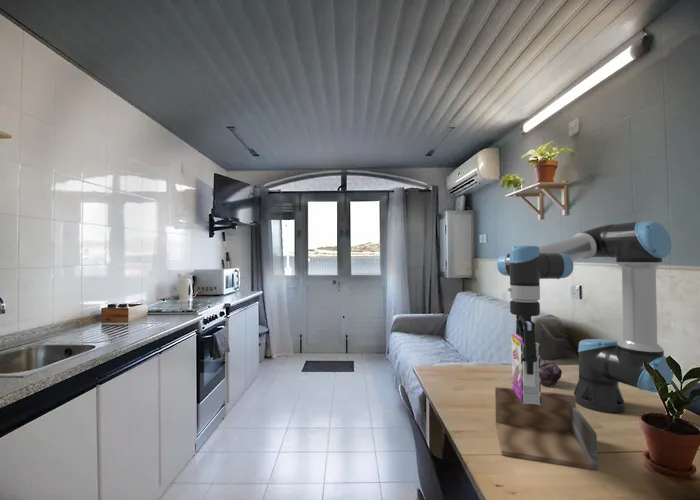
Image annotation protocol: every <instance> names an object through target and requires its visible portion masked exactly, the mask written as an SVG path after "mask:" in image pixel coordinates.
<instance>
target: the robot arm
mask: <svg viewBox="0 0 700 500" xmlns="http://www.w3.org/2000/svg"><path fill="white" fill-rule="evenodd" d="M672 243H673V242H672V239H671V235H670V232H669V231H668V230H667V228H666V227H665V226H664V225H663V224H661V223H660V222H657V221H635V222H626V223H614V224H605V225H601V226H597V227H594V228H591V229H588V230H585V231H581V232H578V233H575V234H574V235H573V236H572V237H571V238H570V237H569V238H567V239H563V240H559V241H555V242H552V243H548V244H545V245H541V246H537V245H515V246H511V247H510V250H509V252H508V253H502V254H501V255H500V256H499V257H498V259H497V261H496V267H497V271H498V272H499V273H500V274H501V275H502V276H507V277H509V282H510V283H509V287H508V288H507V292H510V293H509V295H510V296H509V297H510V299H511V300H510V301H509V302H510V303H509V312H510V314H512V315H514V316H515V318H516V322H515V324H516V325H515V326H516V327H515V328H516V329H515V334H516V335H518V336H520V337H522V342H523V343H525V347H524V358H522V359H521V361H523V382H524V386H531V387H535V362H537V356H536V343H535V341H536V331H535V330H536V329H535V327H536V324H535V322H534V321H532V317H537V316H539V315H540V314H541V303H540V302H539V301H540V300H541V286H540V285H541V284H540V283H541V282H540V280H544V279H545V280H548V279H551V280H553V279H556V280H560V279H566V278H568V277H570V276H571V274H572V273H573V271H574V261H575V260H578V259H582V260H587V259H591V258H615V259H616V261H615V264H617V265H618V266H619V267H620V268H621V281H622V282H621V283H622V284H621V287H622V291H621V292H622V293H621V294H622V297H621V298H622V338H623V339H621V340H620V341H619V342H618V341H617V340H613V339H606V338H605V339H604V338H603V339H602V338H591V339H590V338H589V339H588V338H587V339H581V340H580V341H579V343H578V349H577V352H578V381H577V384H576V387H575V389H574V391H573V395H575V396H576V404H578V405H580V406H582V407H584V408H587V409H590V410H594V411H596V412H603V413H611V414H612V413H614V414H615V413H617V414H618V413H622V412H624V411H625V410H626V402H625V400H624V397H623V394H622V392H621V389H620V387H619V383H621V384H625V385H628V386H630V387H634V388H637V389H639V390H641V391H647V392H651V393H658V392H657V390H656V388H655V385H654V383H653V381H652V379H651V377H650V375H649V374H648V372H647V371H646V369H645V367H644V365H643V361H645V362H646V363H647V364H649V365H650V366H651V367H652V368H654V369H656V370H658V371H659V373H660V374H661V375H662V376H663V377H664V379H665V380H666V382H667V383H670V381H671V382H672V380H673V378H674V374H673V372H672V371H671V369H670V367H669V366H668V365H667V363H666V358H668V357H667V356H665V355H664V354H665V350H664V348H663V347H662V346H661V345H660V344H658V318H657V317H658V316H657V315H658V313H657V312H658V311H657V309H658V307H657V305H658V304H657V268H658V267H659V266H661V265H662V264H663V259H664V258H667V257H668V256H669V255H670V254H671V250H672V245H673V244H672ZM531 356H532V357H531ZM670 384H671V383H670Z"/></svg>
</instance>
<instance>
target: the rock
mask: <svg viewBox="0 0 700 500" xmlns="http://www.w3.org/2000/svg"><path fill="white" fill-rule="evenodd" d="M562 373H563V371H562V369H561V368H560V367H559V366H558V365H557V363H555V362H553V361H552V360H549V359H543V360H542V361H540V382H541V386H544V387H552V385H557V383H558V381H559V380H560V379H561V377H562V375H563V374H562Z"/></svg>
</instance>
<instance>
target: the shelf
mask: <svg viewBox="0 0 700 500" xmlns="http://www.w3.org/2000/svg"><path fill="white" fill-rule="evenodd" d="M494 390H495V391H494V393H495V394H494V395H495V396H494V397H495V398H494V399H495V405H494V406H495V412H494V413H495V414H494V415H495V428H496V434H497V439H498V443H499V447H500V453H501V456H503V457H504V456H506V457H512V458H519V459H525V460H530V461H537V462H543V463H550V464H554V465H555V464H556V465H562V466H569V467H575V468H581V469H588V470H594V471H597V470H598V444H597V440H598V439H597V438H598V437H597V434H598V433H597V432H596V431H595V430H594V428H593V427H592V426H591V424H590V423H589V422H588V421H587V419H586V418H585V417H584V415H583V414H582V412H581V411H580V410H579V409H578V407H577V406H576V404H577V403H576V396H575V395H574V394H570V393H560V392H551V391H550V392H549V391H541V405H526V404H522V402H521V401H520V399H519V398H518V396H517V395H516V393H515V392H514V391H513V389H512V387H502V386H494Z"/></svg>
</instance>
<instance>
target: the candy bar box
mask: <svg viewBox="0 0 700 500" xmlns="http://www.w3.org/2000/svg"><path fill="white" fill-rule="evenodd" d="M510 340H511V341H510V342H511V343H510V344H511V350H510V351H511V388H512V389H513V391H514V392H515V393H516V395H517V396H518V398H519V399H520V401H521V402H522V404H526V405H541V388H542V387H541V386H542V385H541V382H540V363H541V349H540V348H541V346H540V345H541V344H540V343H539V342H537V341H536V340H535V343H536V356H537V362H535V387H531V386H524V382H523V361H521V359H522V358H524V347H525V343H523V342H522V337H520V336H518V335H516V333H513V334H510ZM531 357H532V356H531Z"/></svg>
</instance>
